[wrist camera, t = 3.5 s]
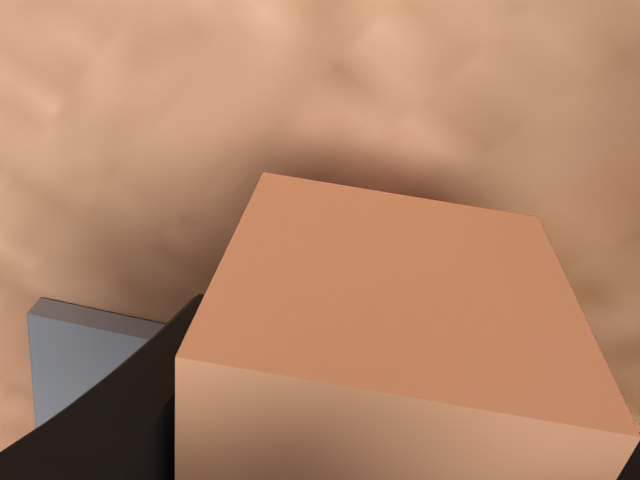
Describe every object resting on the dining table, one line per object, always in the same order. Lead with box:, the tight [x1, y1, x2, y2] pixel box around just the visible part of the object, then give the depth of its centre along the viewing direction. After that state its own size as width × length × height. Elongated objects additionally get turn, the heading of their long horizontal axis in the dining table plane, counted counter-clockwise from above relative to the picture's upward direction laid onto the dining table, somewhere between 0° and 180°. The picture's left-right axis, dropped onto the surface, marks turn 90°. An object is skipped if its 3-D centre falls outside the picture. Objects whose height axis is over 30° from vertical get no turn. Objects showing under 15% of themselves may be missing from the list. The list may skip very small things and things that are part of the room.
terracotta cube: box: [175, 172, 640, 480], centre depth 10 cm, size 5×5×5 cm
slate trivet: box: [27, 298, 166, 428], centre depth 20 cm, size 10×10×1 cm
